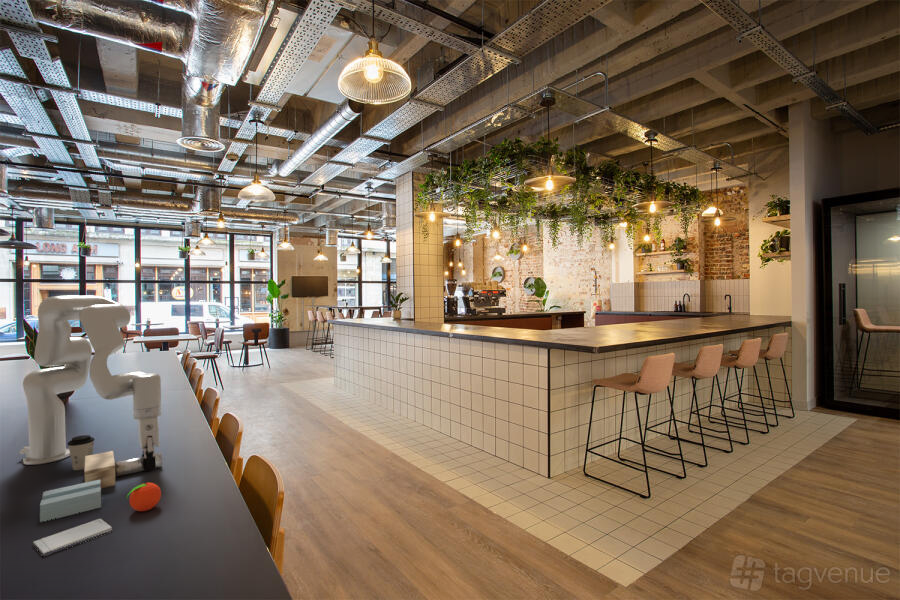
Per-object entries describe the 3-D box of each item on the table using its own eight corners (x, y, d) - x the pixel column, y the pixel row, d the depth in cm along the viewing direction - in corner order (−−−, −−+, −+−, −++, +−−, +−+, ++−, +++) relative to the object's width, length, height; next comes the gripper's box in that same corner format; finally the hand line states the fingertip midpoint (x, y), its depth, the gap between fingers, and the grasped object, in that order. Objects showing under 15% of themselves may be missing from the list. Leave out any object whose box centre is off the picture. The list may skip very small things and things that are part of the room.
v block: (40, 522, 110) (39, 506, 109) (44, 505, 119) (43, 490, 119) (101, 507, 117) (100, 492, 117) (100, 491, 126) (100, 478, 126)
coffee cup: (100, 464, 147) (99, 435, 147) (77, 472, 141) (76, 441, 141) (86, 462, 150) (85, 433, 149) (62, 470, 143) (62, 439, 143)
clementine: (132, 520, 110) (131, 492, 110) (119, 513, 113) (119, 486, 113) (166, 507, 117) (165, 481, 116) (153, 501, 120) (153, 475, 120)
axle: (103, 481, 134) (103, 467, 134) (103, 476, 137) (103, 462, 137) (162, 468, 143) (161, 455, 143) (160, 464, 147) (160, 451, 146)
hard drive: (99, 517, 110) (33, 540, 99) (112, 527, 105) (43, 552, 95) (100, 524, 110) (33, 547, 99) (112, 533, 105) (43, 559, 95)
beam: (85, 492, 127) (84, 471, 126) (85, 474, 139) (85, 456, 139) (115, 485, 131) (114, 465, 131) (113, 468, 143) (113, 450, 143)
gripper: (164, 415, 138) (165, 472, 139) (158, 405, 151) (159, 457, 152) (135, 419, 134) (136, 478, 134) (131, 408, 147) (133, 462, 147)
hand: (148, 466), depth 143 cm, fingers closed on axle, 4 cm apart
